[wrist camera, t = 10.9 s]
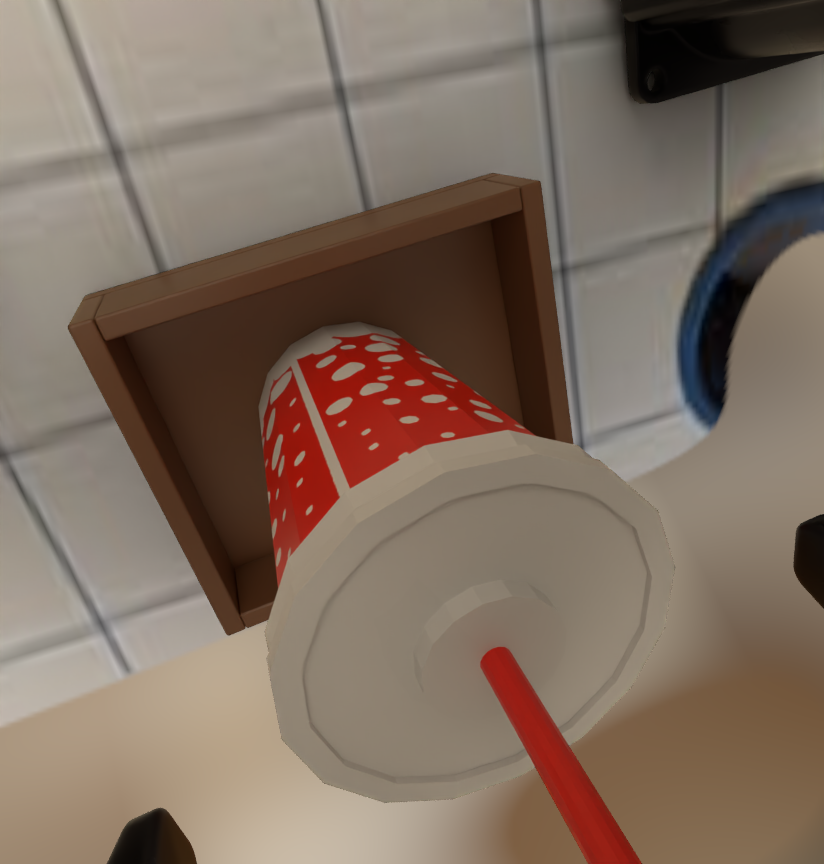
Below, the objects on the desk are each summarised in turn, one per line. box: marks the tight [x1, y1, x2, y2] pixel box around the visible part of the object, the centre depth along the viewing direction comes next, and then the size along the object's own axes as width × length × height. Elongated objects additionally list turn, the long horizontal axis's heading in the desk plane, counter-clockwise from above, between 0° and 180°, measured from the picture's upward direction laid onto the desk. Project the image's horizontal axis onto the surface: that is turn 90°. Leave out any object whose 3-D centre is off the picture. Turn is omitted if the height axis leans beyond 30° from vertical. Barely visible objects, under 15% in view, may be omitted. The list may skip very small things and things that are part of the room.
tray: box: [68, 173, 573, 635], centre depth 16 cm, size 10×8×2 cm
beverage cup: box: [258, 322, 675, 864], centre depth 11 cm, size 6×6×14 cm
